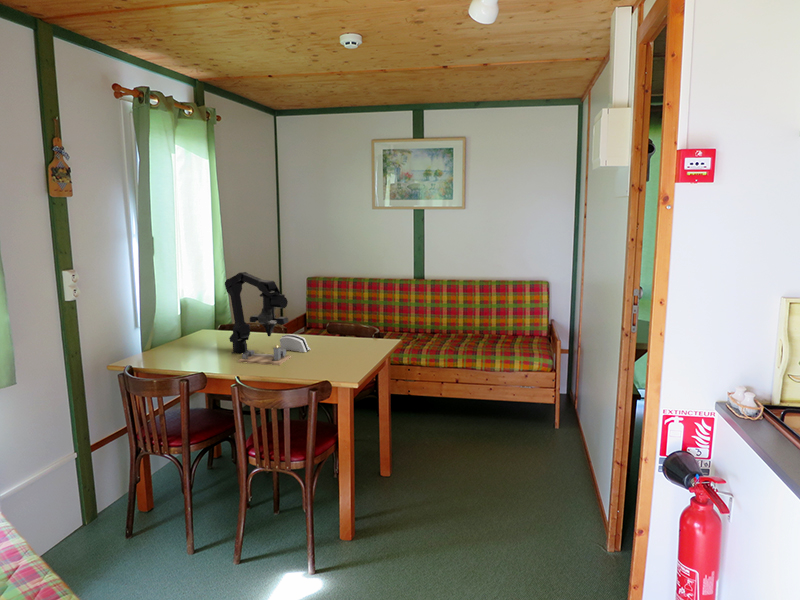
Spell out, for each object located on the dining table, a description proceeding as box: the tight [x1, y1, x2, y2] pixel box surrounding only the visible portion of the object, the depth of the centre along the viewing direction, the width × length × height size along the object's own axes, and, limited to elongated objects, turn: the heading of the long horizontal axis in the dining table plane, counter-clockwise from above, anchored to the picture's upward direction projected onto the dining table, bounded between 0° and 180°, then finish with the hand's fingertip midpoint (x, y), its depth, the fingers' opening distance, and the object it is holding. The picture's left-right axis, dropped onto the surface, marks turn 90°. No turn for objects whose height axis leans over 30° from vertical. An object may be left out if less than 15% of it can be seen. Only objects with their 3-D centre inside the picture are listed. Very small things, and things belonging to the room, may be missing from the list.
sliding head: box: [273, 344, 287, 361], centre depth 280 cm, size 4×8×7 cm, turn 168°
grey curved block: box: [279, 333, 311, 353], centre depth 302 cm, size 17×5×10 cm, turn 62°
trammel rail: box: [241, 349, 285, 359], centre depth 282 cm, size 20×8×3 cm, turn 78°
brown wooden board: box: [237, 353, 292, 366], centre depth 282 cm, size 22×14×1 cm, turn 78°
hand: (269, 336), depth 285 cm, fingers closed
